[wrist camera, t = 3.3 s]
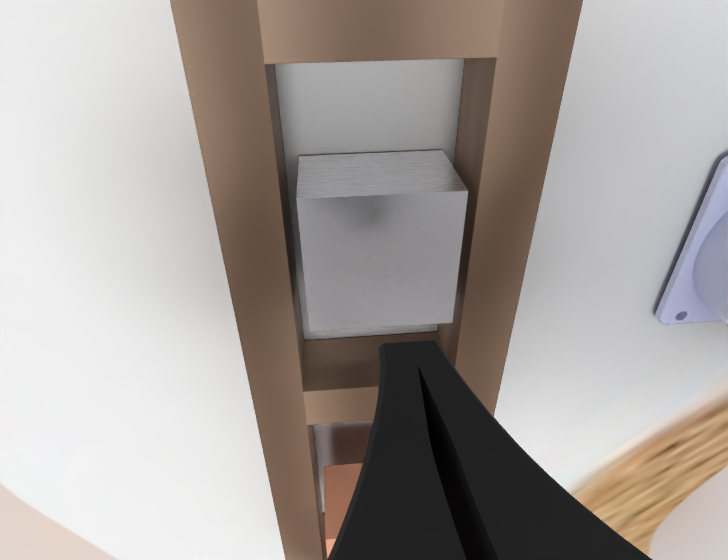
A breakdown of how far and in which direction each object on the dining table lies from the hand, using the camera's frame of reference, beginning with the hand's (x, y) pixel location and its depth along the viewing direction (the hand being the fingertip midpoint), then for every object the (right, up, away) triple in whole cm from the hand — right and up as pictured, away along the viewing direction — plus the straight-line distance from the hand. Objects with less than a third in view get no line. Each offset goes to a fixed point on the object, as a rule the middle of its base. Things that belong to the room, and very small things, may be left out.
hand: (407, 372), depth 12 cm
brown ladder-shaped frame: (-1, -1, +11) cm, 11 cm away
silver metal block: (-1, +5, +7) cm, 8 cm away
